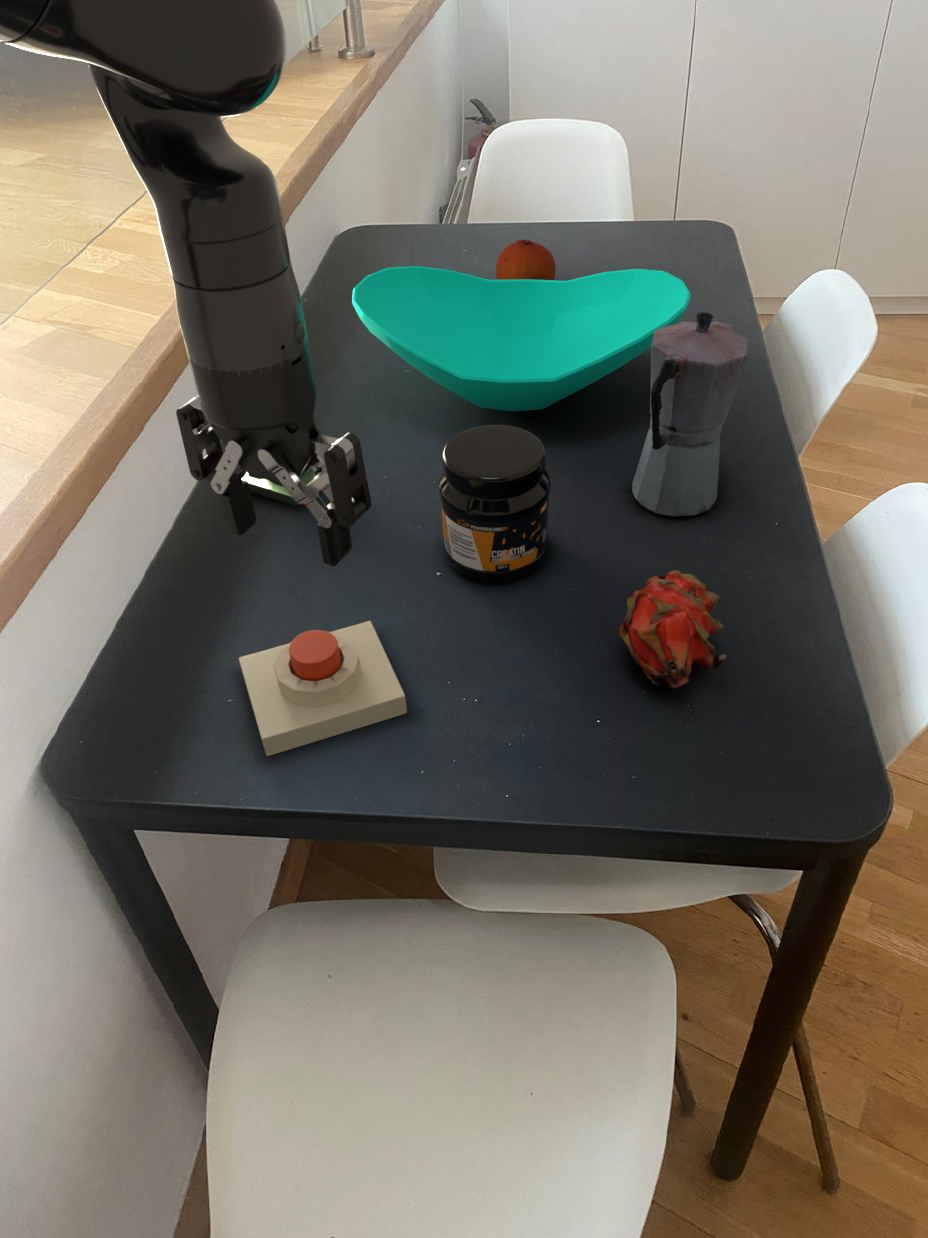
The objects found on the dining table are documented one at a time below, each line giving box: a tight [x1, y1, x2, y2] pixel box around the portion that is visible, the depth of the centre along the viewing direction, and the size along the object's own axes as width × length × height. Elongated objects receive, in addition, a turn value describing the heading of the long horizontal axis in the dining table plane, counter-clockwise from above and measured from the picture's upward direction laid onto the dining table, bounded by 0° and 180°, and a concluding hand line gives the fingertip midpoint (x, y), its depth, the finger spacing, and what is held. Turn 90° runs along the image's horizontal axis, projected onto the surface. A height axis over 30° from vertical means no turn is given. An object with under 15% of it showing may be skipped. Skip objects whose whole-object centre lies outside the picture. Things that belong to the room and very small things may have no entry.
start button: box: [289, 629, 341, 681], centre depth 76 cm, size 4×4×2 cm
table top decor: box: [351, 265, 692, 412], centre depth 112 cm, size 40×28×13 cm
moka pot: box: [631, 311, 749, 517], centre depth 91 cm, size 10×15×20 cm, turn 148°
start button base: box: [238, 620, 408, 757], centre depth 78 cm, size 12×10×4 cm
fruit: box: [495, 239, 557, 280], centre depth 136 cm, size 9×9×8 cm
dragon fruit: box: [619, 569, 727, 689], centre depth 78 cm, size 8×8×12 cm
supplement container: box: [438, 424, 551, 582], centre depth 88 cm, size 10×10×12 cm
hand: (289, 543), depth 69 cm, fingers open, 8 cm apart
